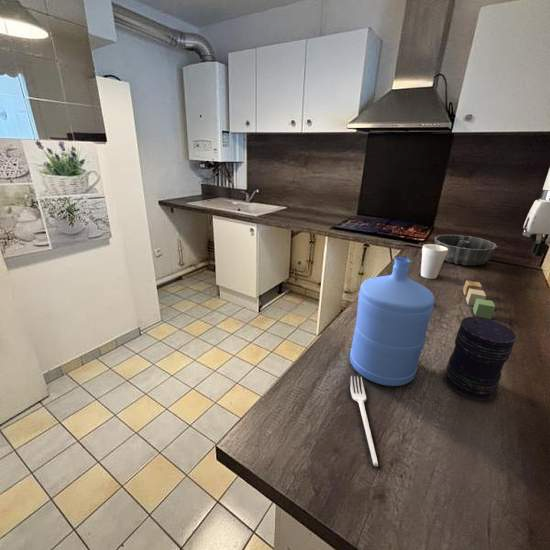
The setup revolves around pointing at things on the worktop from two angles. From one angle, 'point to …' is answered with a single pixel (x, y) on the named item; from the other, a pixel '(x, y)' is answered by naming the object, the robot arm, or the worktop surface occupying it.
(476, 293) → the beige block
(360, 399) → the fork
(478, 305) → the sage block
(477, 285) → the maple block
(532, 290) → the worktop surface
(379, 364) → the water jug
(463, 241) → the bundt pan
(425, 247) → the foam cup
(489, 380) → the dark blue cylinder
